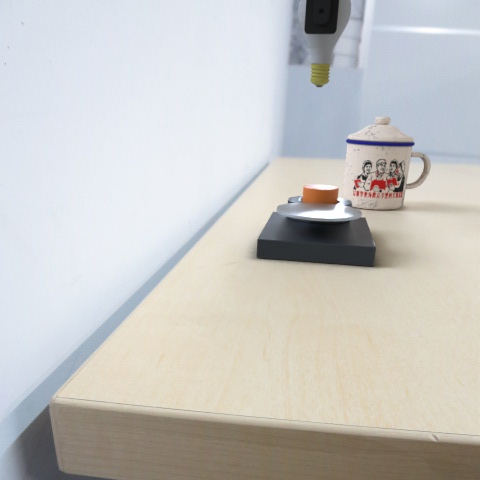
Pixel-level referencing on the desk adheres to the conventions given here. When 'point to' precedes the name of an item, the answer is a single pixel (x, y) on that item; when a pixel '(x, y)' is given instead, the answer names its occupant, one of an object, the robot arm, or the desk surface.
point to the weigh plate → (319, 211)
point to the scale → (317, 239)
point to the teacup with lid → (380, 166)
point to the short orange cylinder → (320, 194)
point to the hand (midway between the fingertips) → (320, 36)
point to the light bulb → (324, 42)
